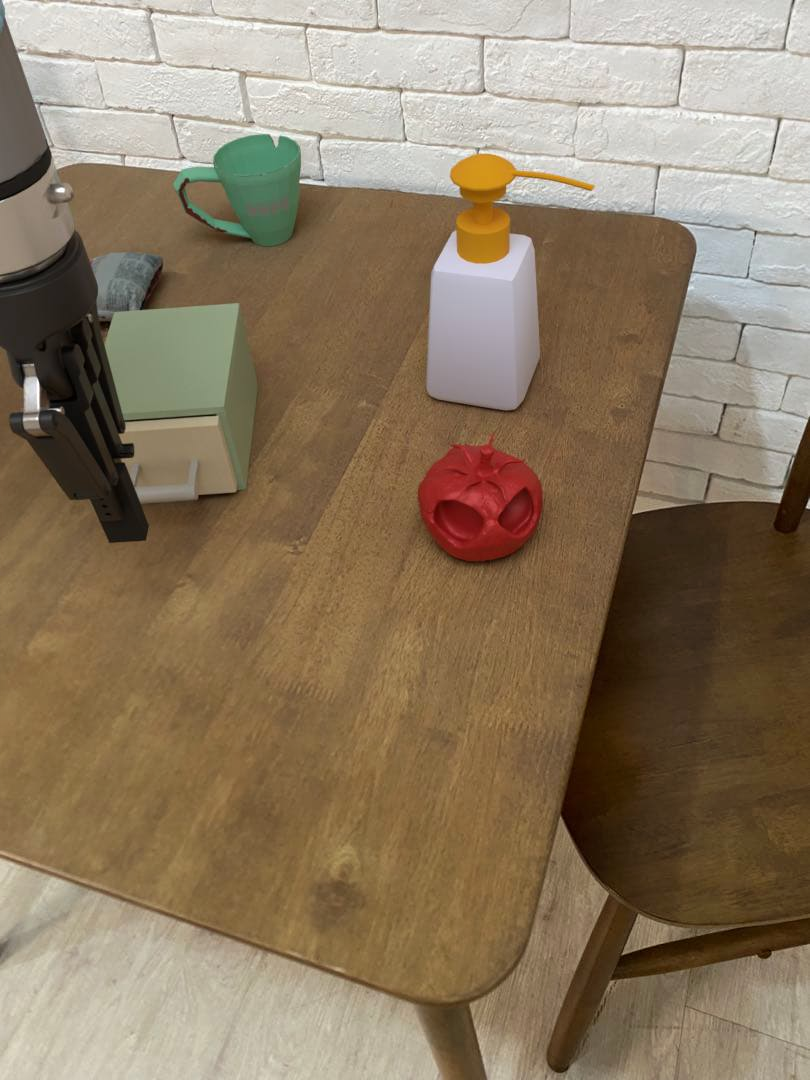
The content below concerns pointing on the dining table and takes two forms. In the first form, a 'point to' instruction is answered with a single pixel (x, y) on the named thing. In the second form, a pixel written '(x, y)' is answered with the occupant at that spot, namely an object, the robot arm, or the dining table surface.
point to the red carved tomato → (480, 502)
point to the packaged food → (124, 281)
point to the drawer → (178, 459)
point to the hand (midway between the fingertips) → (129, 534)
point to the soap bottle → (485, 295)
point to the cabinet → (187, 370)
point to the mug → (251, 187)
